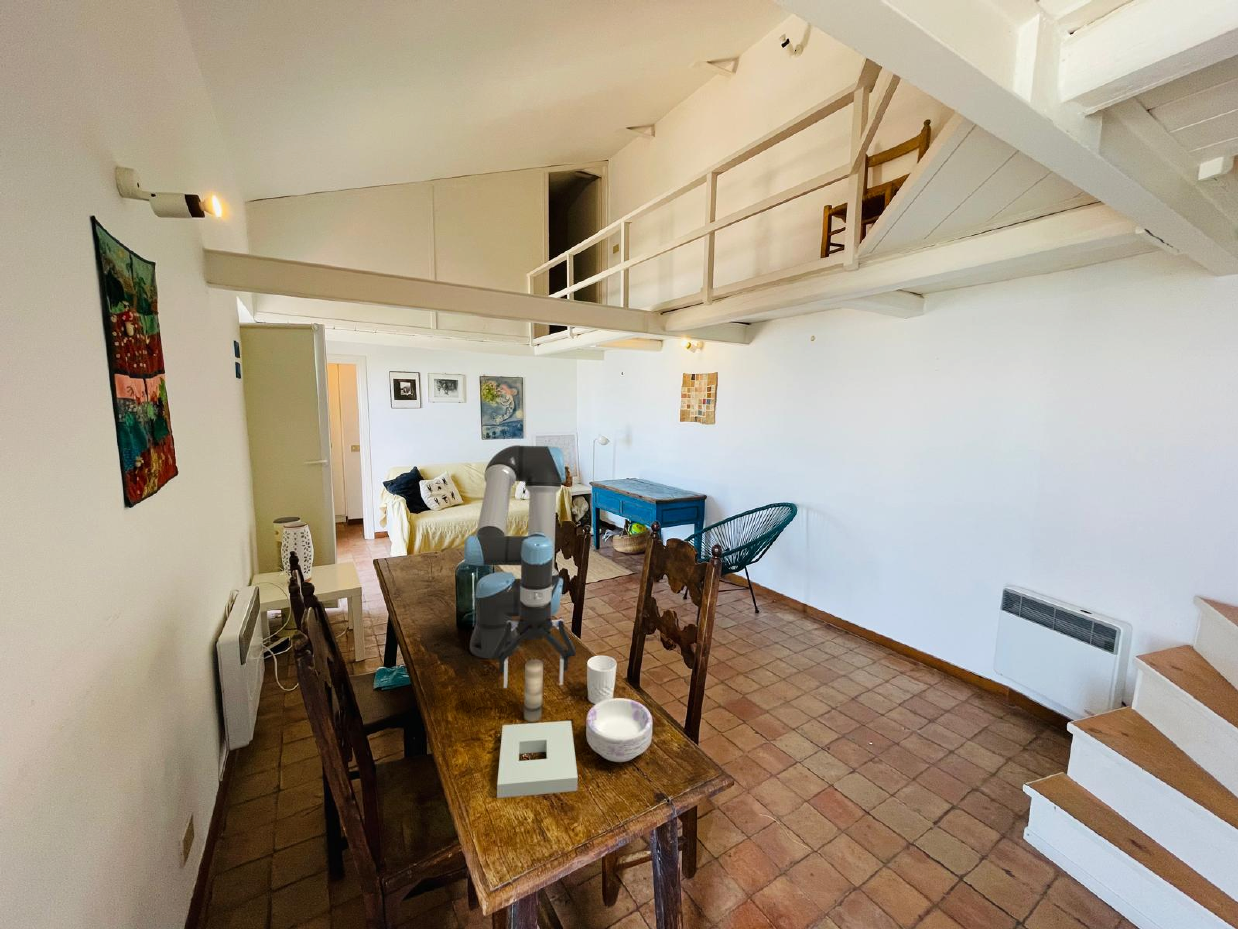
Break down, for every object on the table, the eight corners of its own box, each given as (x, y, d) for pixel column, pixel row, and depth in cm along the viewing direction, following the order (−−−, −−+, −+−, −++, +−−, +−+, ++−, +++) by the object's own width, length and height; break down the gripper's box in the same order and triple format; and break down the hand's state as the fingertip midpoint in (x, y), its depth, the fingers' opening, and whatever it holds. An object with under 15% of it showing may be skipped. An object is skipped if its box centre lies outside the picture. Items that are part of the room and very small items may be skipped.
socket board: (502, 737, 116) (502, 725, 115) (570, 732, 119) (571, 720, 118) (497, 798, 98) (497, 784, 98) (577, 790, 101) (577, 777, 101)
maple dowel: (523, 711, 126) (524, 659, 124) (541, 710, 127) (543, 658, 125) (523, 722, 121) (524, 669, 119) (542, 721, 122) (543, 668, 120)
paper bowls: (574, 737, 117) (575, 706, 116) (629, 719, 124) (631, 690, 123) (604, 782, 104) (605, 747, 103) (663, 759, 111) (665, 726, 110)
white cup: (601, 685, 138) (602, 652, 137) (620, 698, 133) (622, 664, 132) (579, 696, 133) (581, 662, 132) (599, 710, 127) (601, 674, 126)
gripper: (481, 609, 114) (480, 695, 116) (588, 606, 118) (585, 689, 121) (484, 596, 121) (483, 677, 124) (585, 594, 126) (582, 672, 128)
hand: (533, 683), depth 122 cm, fingers open, 13 cm apart
